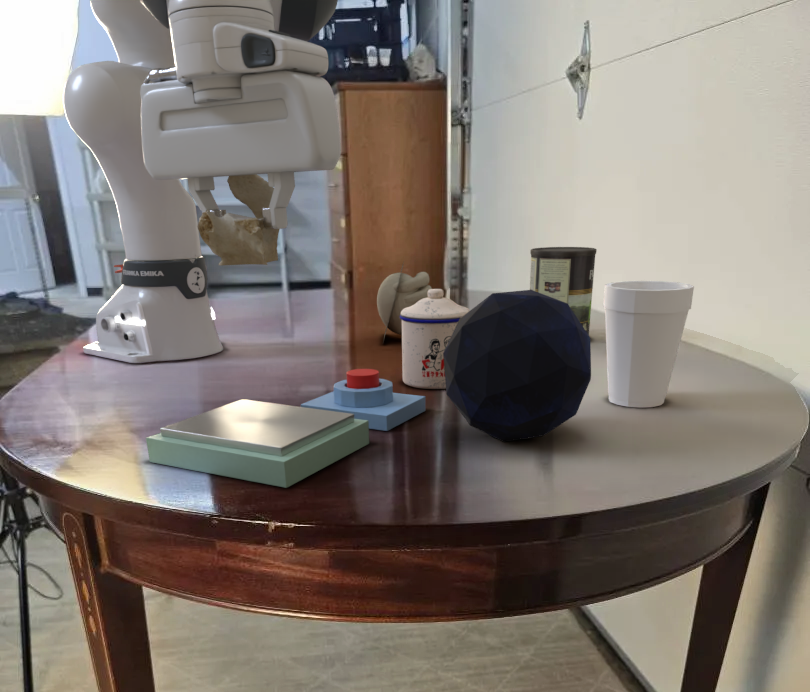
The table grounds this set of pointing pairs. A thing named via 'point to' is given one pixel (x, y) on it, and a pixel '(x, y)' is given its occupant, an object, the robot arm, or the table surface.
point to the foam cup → (643, 338)
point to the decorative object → (400, 297)
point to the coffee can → (565, 277)
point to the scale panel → (371, 404)
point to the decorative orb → (518, 365)
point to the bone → (242, 226)
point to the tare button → (362, 378)
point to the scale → (259, 441)
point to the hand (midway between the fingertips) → (246, 229)
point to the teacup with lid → (428, 339)
